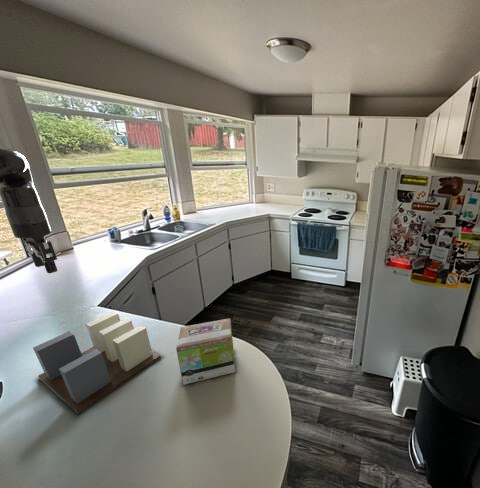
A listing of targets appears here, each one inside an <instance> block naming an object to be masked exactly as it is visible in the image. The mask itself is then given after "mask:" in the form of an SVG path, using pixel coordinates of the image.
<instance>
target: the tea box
mask: <svg viewBox="0 0 480 488" xmlns="http://www.w3.org/2000/svg"><path fill="white" fill-rule="evenodd" d="M175 349H176V356H177V360H178V365H179V371H180V375H181V381H182V384H183V385H184V386H185V385H189V384H192V383H193V384H194V383H196V382H201V381H205V380H209V379H213V378H217V377H221V376H225V375H229V374H234V373H235V372H236V369H235V351H234V340H233V330H232V320H231V318H223V319H219V320H213V321H208V322H207V321H206V322H202V323H197V324H190V325H184V326H180V329H179V334H178V338H177V344H176V348H175Z"/></svg>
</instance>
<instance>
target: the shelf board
mask: <svg viewBox="0 0 480 488" xmlns="http://www.w3.org/2000/svg"><path fill="white" fill-rule="evenodd" d="M93 350H95V349H94V346H92V347H90V348H88V349H86V350H85V351H81V354H82V356H84V355H86V354H88V353H90V352H91V351H93ZM101 353H102V355H103V358H104V361H105V364H106V367H107V370H108V373H109V376H110V378H111V382H110V383H109V384H107V385H106V386H104V387H102V388H101V389H99V390H98V391H96V392H95V393H93V394H92V395H90V396H89V397H87V398H86V399H84V400H83V401H81V402H80V403H78V404H77V403H76V402H75V401H73V400H72V398H71V396H70V393H69V391H68V389H67V387H66V384H65V382H64V380H63V377H62V375H59V376H58V377H56V378H54V379H52V380H50V379H49V378H47V377H46V375H45V373H44V372H43V373H41V374H38V375H37V377H38V379H39V380H40V381H41V382H42V383H44V385H46V386H47V387H48V388H49V389H50V390H51V391H52V392H54V394H55V395H56V396H58V397H59V398H60V399H61V400H62V401H63V402H64V403H65V404H66V405H68V407H70V408H71V409H72V410H73V411H74V412H75V413H76V414H77V415H80V414H81V413H83V412H84V411H86V410H87V409H89V408H90V407H92V406H93V405H95V404H96V403H97V402H99V401H100V400H102V399H103V398H105V397H107V396H108V395H109V394H111V393H113V392H114V391H115V390H116V389H118V388H119V387H121V386H122V385H124V384H126V382H128V381H129V380H131V379H133V378H134V377H135V376H137V375H139V374H140V373H141V372H143V371H144V370H146V369H147V368H149V367H150V366H152V365H154V363H156V362H157V361H159V360H160V359H162V357H161V355H160V354H159V353H158V352H155V351H154V350H152V353H153V355H151V356H150V357H148V358H147V359H145V360H144V361H142V362H141V363H139V364H138V365H136V366H135V367H133V368H132V369H130V370H128V371H127V372H126V371H125V370H123V369H122V368H121V366H120V363H119V359H117V360H115V361H114V362H112V361H110V360H109V359H107V356H106V353H105V351H103V352H101Z"/></svg>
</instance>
